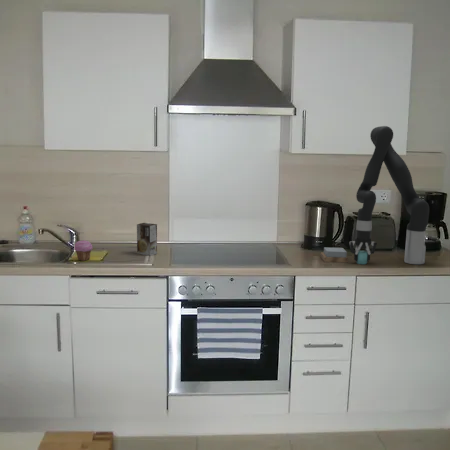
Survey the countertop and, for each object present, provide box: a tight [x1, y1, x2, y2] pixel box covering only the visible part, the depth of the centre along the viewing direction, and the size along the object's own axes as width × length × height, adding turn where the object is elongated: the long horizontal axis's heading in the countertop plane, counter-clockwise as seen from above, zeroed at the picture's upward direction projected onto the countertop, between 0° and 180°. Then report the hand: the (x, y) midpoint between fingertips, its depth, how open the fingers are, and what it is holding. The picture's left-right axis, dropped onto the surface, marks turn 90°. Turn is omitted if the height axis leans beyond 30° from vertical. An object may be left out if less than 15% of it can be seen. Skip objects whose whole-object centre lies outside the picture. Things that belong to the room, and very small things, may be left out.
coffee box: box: [136, 222, 158, 256], centre depth 289 cm, size 9×6×16 cm
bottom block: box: [319, 251, 349, 263], centre depth 286 cm, size 12×12×3 cm
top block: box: [323, 246, 348, 258], centre depth 285 cm, size 10×10×3 cm
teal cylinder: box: [355, 250, 368, 265], centre depth 279 cm, size 5×5×6 cm
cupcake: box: [73, 240, 94, 262], centre depth 273 cm, size 9×9×10 cm
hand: (361, 261), depth 279 cm, fingers closed on teal cylinder, 5 cm apart
